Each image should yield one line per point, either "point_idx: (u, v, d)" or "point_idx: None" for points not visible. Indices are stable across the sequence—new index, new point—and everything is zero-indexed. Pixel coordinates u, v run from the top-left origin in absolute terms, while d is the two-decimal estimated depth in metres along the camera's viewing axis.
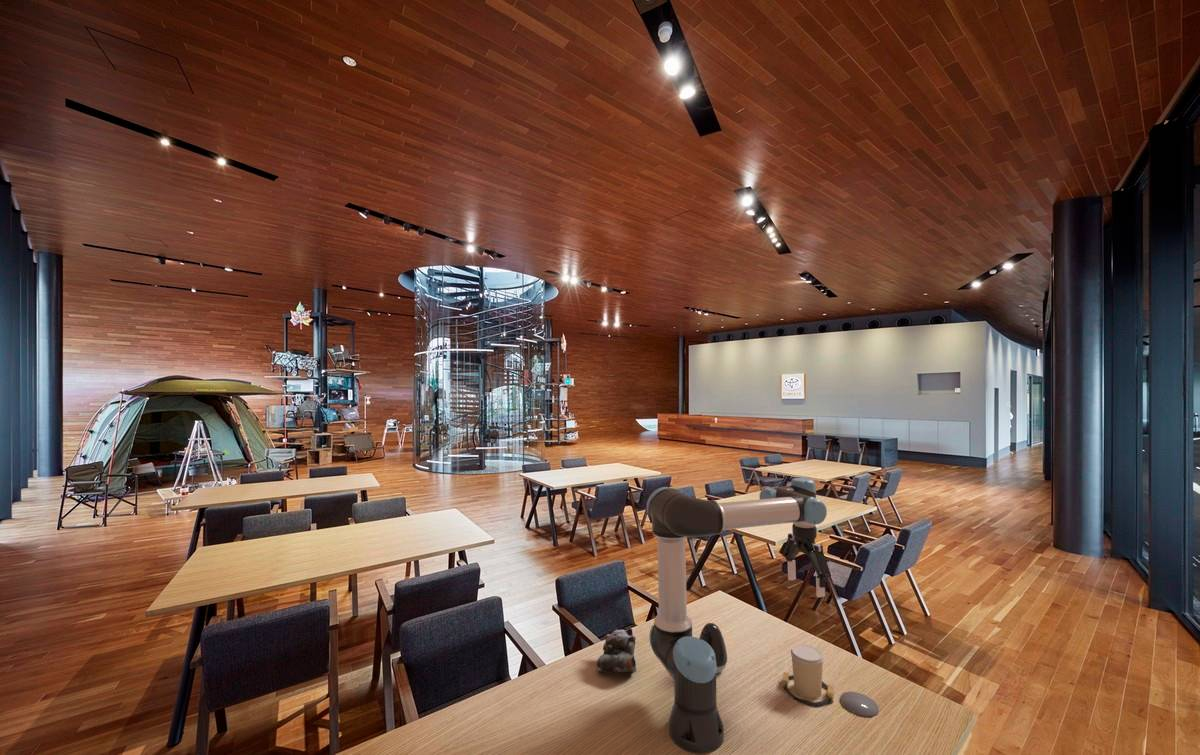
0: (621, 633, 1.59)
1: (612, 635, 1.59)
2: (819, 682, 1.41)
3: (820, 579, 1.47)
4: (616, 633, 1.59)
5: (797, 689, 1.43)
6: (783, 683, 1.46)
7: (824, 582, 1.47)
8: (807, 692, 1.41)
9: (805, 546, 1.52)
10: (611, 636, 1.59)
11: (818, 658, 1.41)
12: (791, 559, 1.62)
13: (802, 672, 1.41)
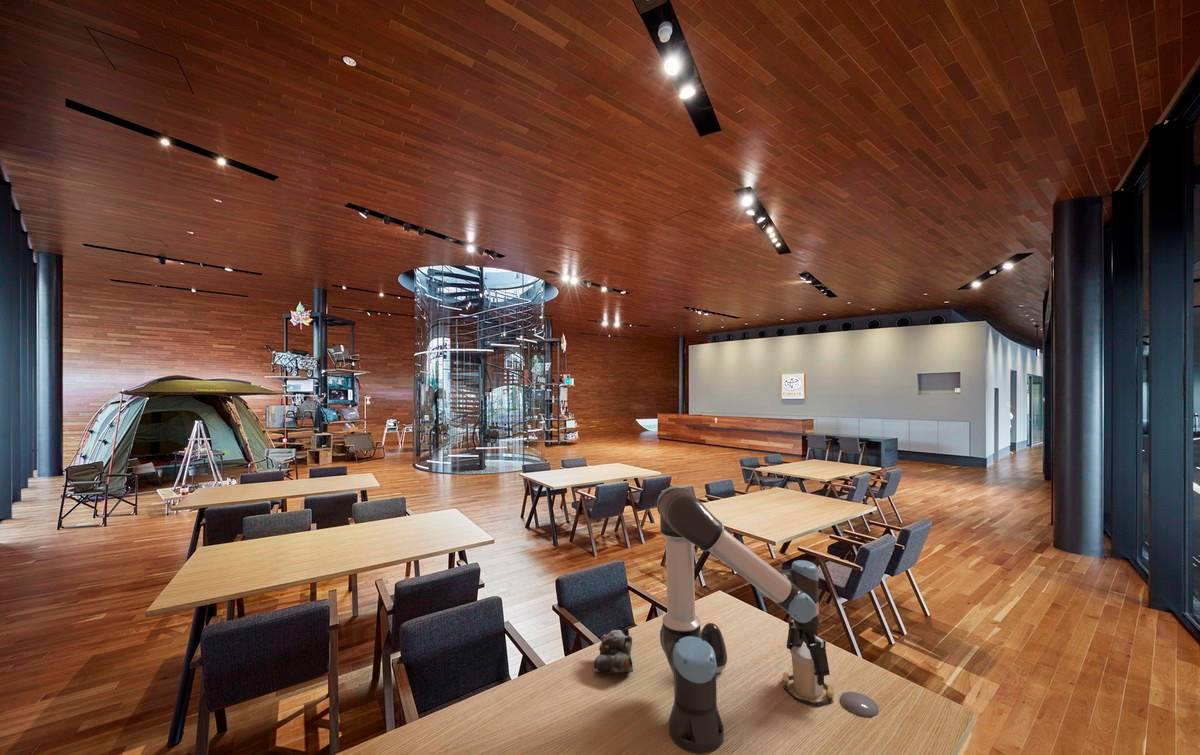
0: (617, 633, 1.58)
1: (608, 635, 1.59)
2: None
3: (818, 676, 1.39)
4: (612, 633, 1.59)
5: (797, 689, 1.43)
6: (783, 683, 1.46)
7: (822, 680, 1.38)
8: (807, 692, 1.41)
9: (807, 637, 1.42)
10: (607, 636, 1.59)
11: None
12: None
13: (802, 672, 1.41)
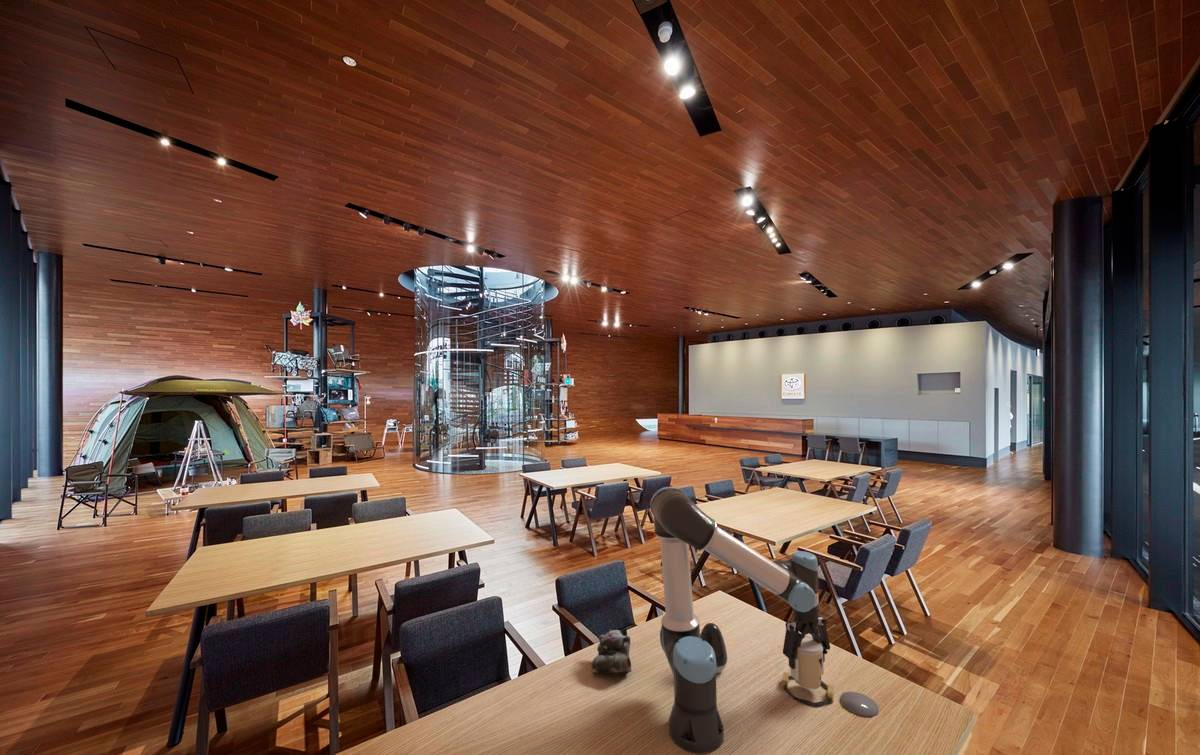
0: (616, 633, 1.58)
1: (607, 636, 1.59)
2: (798, 670, 1.42)
3: None
4: (611, 634, 1.59)
5: None
6: (783, 683, 1.46)
7: (790, 662, 1.42)
8: None
9: None
10: (606, 637, 1.59)
11: (799, 647, 1.42)
12: None
13: None
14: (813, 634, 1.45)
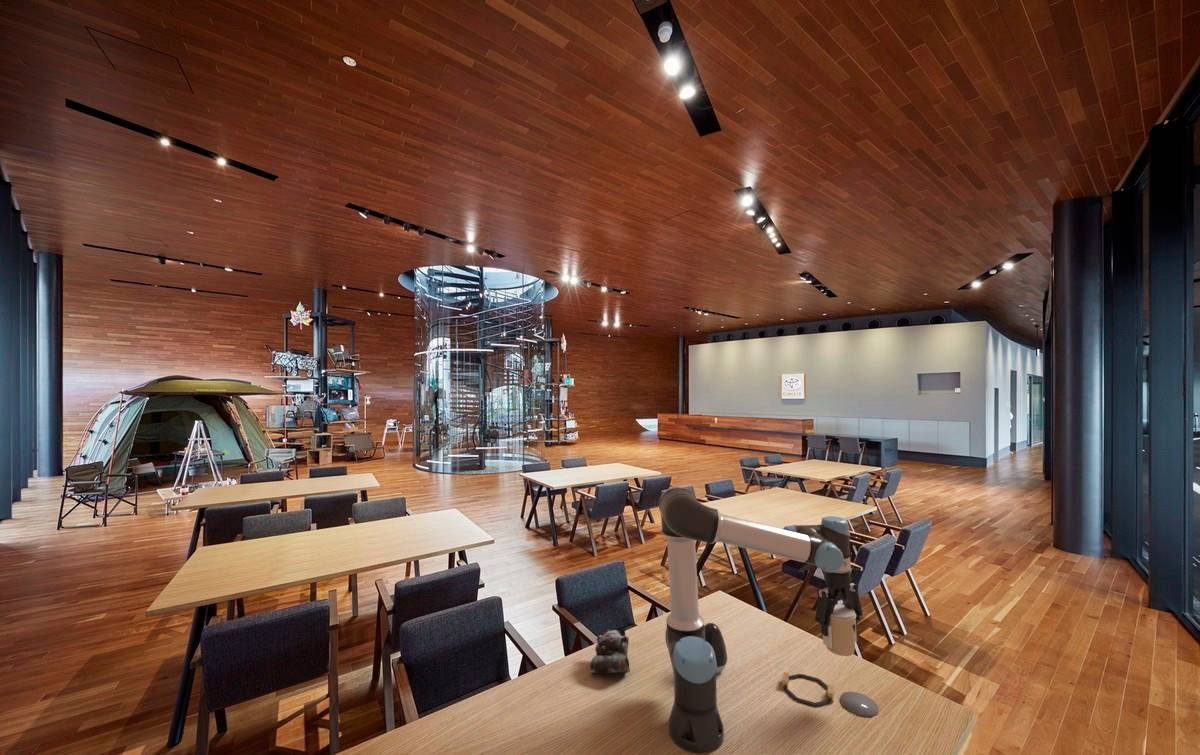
0: (614, 634, 1.58)
1: (605, 636, 1.59)
2: None
3: None
4: (609, 634, 1.59)
5: None
6: (783, 683, 1.46)
7: (823, 630, 1.38)
8: None
9: None
10: (604, 637, 1.59)
11: (832, 613, 1.38)
12: None
13: None
14: (845, 600, 1.41)
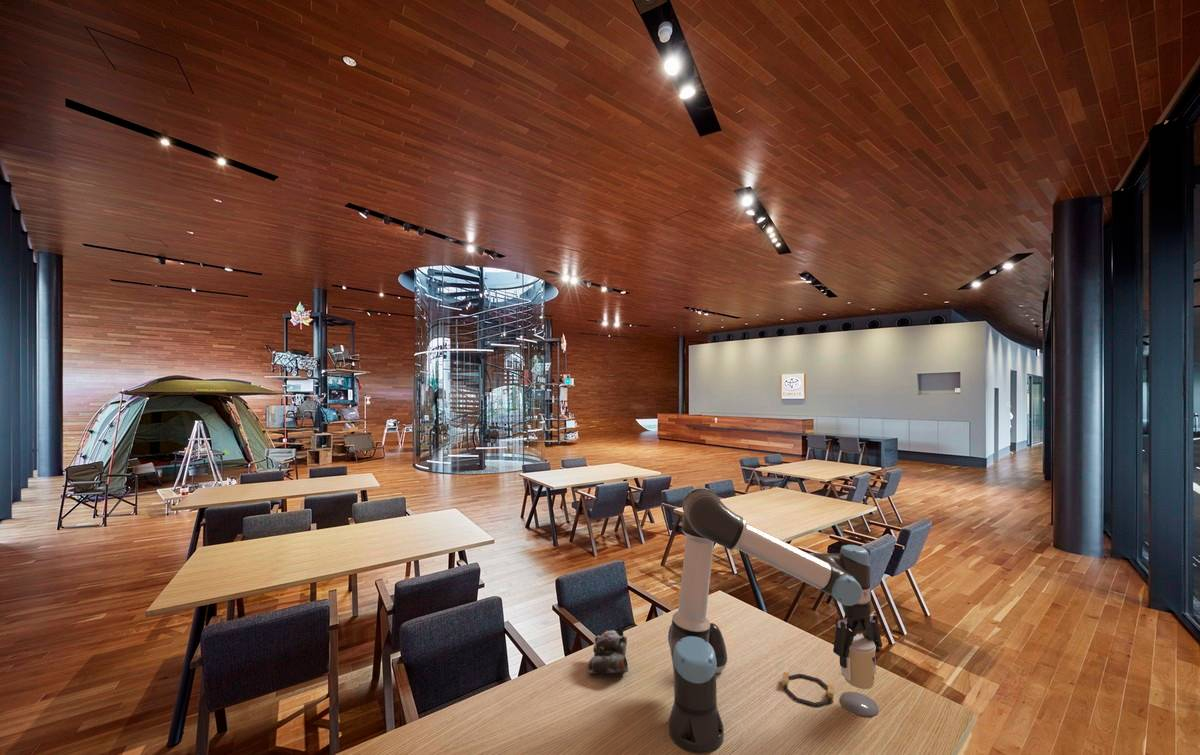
0: (612, 634, 1.58)
1: (603, 636, 1.59)
2: (850, 669, 1.36)
3: None
4: (607, 634, 1.58)
5: None
6: (783, 683, 1.46)
7: (841, 661, 1.36)
8: None
9: None
10: (602, 637, 1.58)
11: (851, 645, 1.36)
12: None
13: None
14: (864, 631, 1.38)
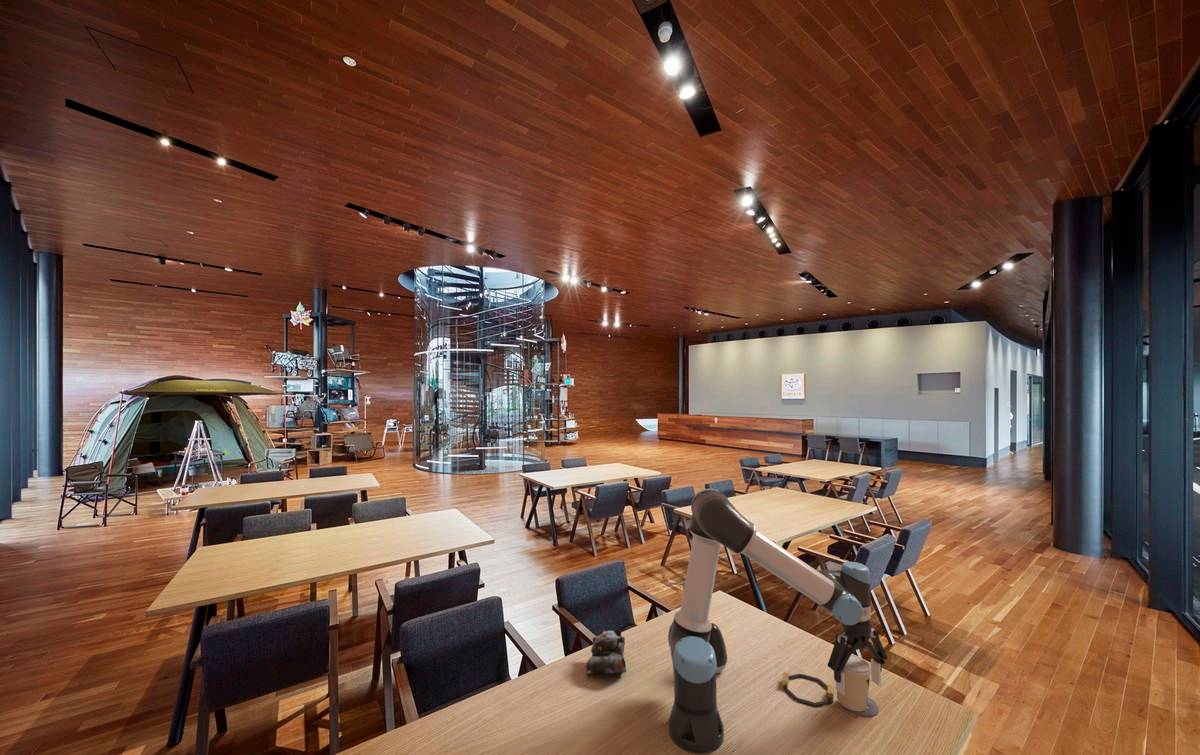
0: (610, 634, 1.58)
1: (601, 637, 1.58)
2: None
3: None
4: (605, 634, 1.58)
5: None
6: (783, 683, 1.46)
7: (836, 676, 1.35)
8: (837, 692, 1.38)
9: None
10: (600, 638, 1.58)
11: (846, 666, 1.35)
12: (877, 660, 1.39)
13: None
14: (867, 647, 1.38)
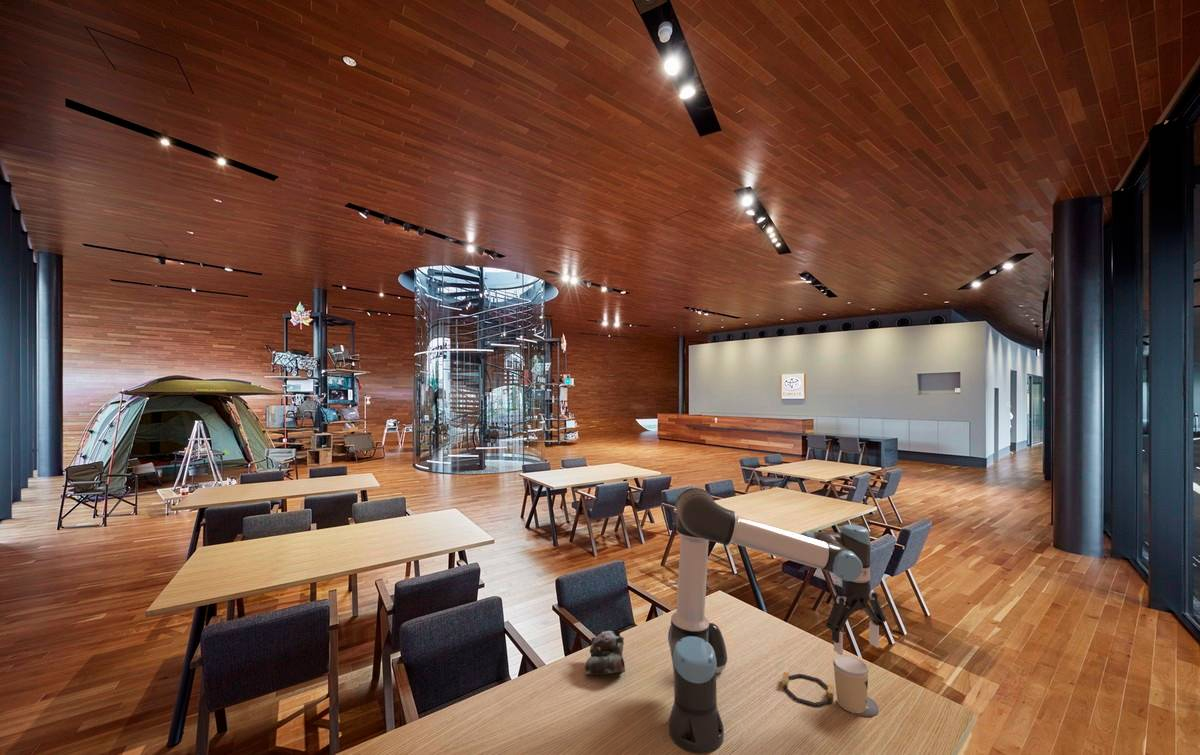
0: (609, 634, 1.58)
1: (600, 637, 1.58)
2: (843, 693, 1.35)
3: None
4: (604, 635, 1.58)
5: None
6: (783, 683, 1.46)
7: (834, 636, 1.35)
8: None
9: None
10: (599, 638, 1.58)
11: (844, 669, 1.35)
12: (875, 623, 1.40)
13: None
14: (865, 609, 1.38)
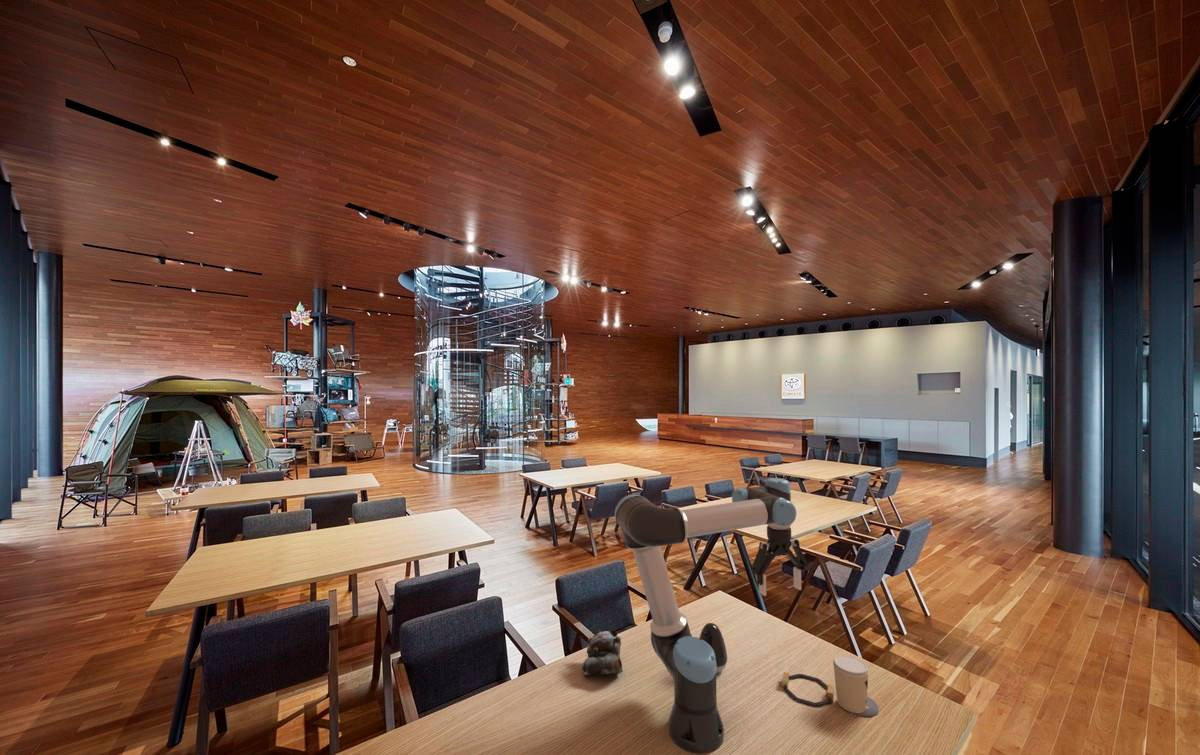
0: (606, 635, 1.58)
1: (597, 637, 1.58)
2: (843, 693, 1.35)
3: None
4: (601, 635, 1.58)
5: None
6: (783, 683, 1.46)
7: (758, 579, 1.48)
8: None
9: None
10: (596, 638, 1.58)
11: (844, 668, 1.35)
12: (798, 567, 1.52)
13: None
14: (788, 555, 1.51)
